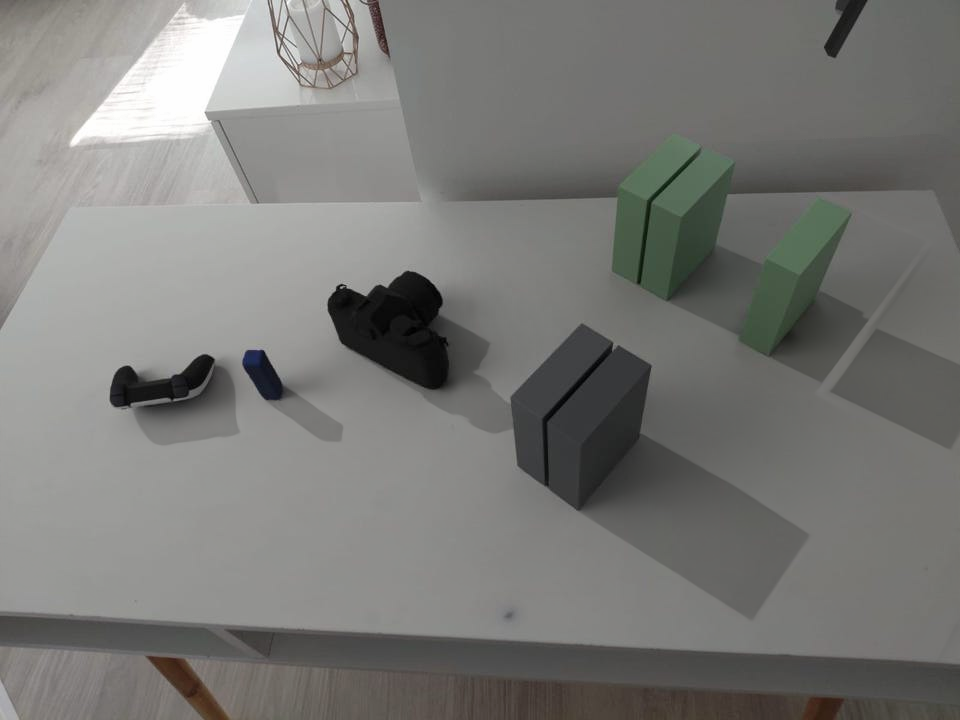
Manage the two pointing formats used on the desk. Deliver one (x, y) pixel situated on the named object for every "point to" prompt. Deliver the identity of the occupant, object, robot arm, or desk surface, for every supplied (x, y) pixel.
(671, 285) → the green book
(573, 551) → the desk surface
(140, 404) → the gaming controller
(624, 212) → the green book
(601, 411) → the grey book
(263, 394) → the blue rectangular bar
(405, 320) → the film camera
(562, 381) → the grey book
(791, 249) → the sage book
